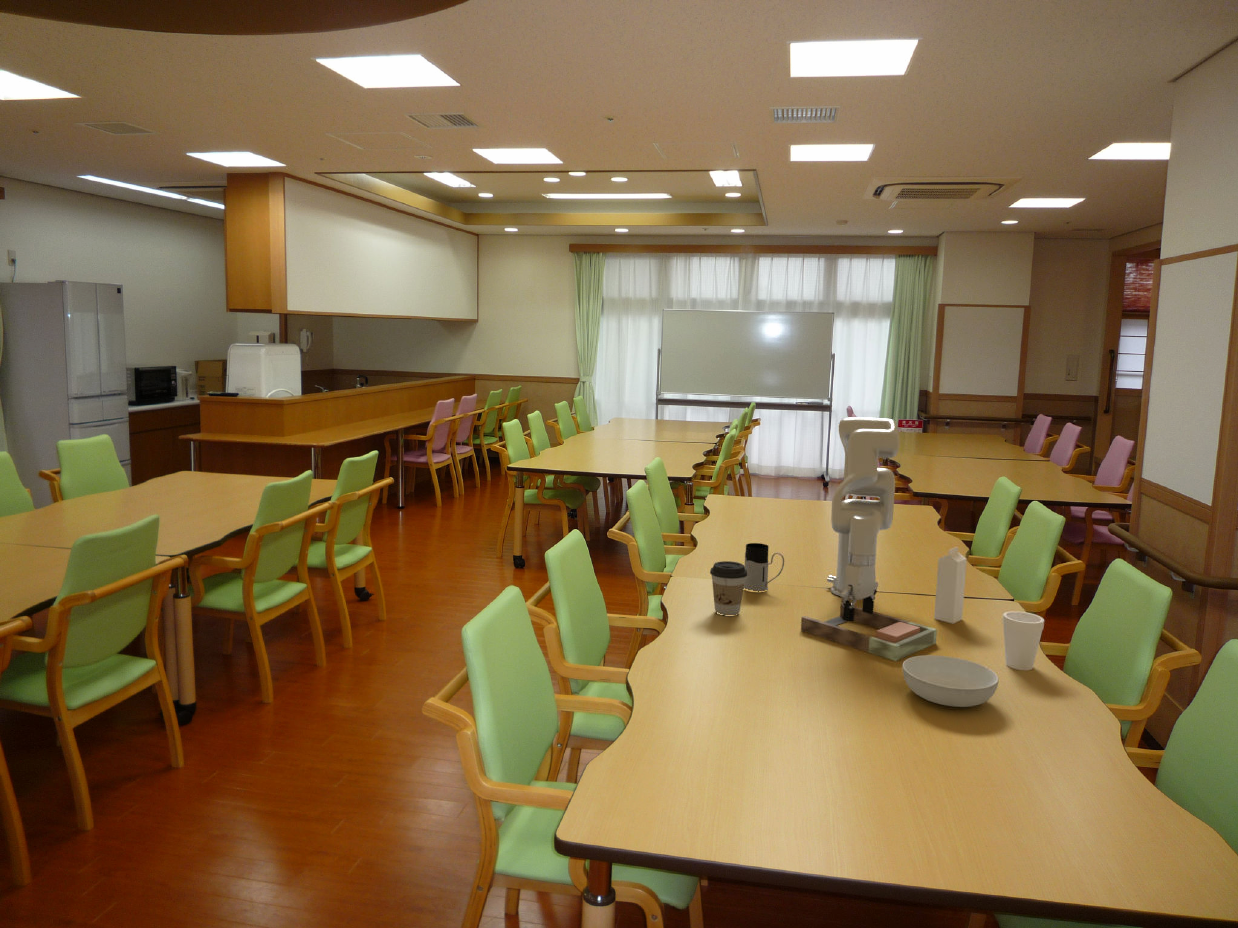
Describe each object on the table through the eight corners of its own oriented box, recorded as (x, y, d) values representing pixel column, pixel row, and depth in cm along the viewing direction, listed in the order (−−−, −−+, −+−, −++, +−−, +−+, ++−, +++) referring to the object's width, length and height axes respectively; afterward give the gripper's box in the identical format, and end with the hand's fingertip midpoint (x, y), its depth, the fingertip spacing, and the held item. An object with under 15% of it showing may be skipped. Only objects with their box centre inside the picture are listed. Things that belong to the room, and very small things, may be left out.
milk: (962, 619, 249) (968, 548, 246) (952, 624, 245) (959, 551, 242) (942, 614, 254) (948, 544, 251) (933, 618, 250) (939, 547, 247)
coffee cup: (704, 615, 249) (705, 567, 247) (714, 605, 260) (715, 558, 257) (741, 620, 245) (742, 571, 243) (749, 609, 255) (751, 562, 253)
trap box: (800, 630, 237) (801, 617, 237) (842, 615, 251) (843, 603, 251) (895, 661, 215) (896, 646, 215) (935, 643, 229) (936, 629, 228)
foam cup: (1039, 662, 216) (1043, 614, 214) (1040, 675, 207) (1045, 625, 206) (999, 656, 220) (1003, 609, 218) (998, 668, 211) (1003, 619, 210)
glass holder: (749, 583, 283) (751, 541, 281) (788, 591, 275) (790, 547, 273) (737, 589, 276) (739, 546, 274) (776, 597, 268) (778, 552, 266)
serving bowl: (1009, 698, 193) (1011, 670, 192) (976, 727, 178) (979, 697, 177) (922, 673, 207) (924, 647, 206) (885, 698, 192) (886, 670, 191)
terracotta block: (875, 648, 225) (876, 630, 224) (899, 638, 233) (900, 621, 232) (895, 654, 220) (896, 636, 220) (918, 644, 228) (919, 627, 228)
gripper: (867, 550, 241) (863, 606, 244) (832, 561, 230) (829, 619, 233) (890, 556, 236) (886, 613, 238) (856, 567, 224) (852, 627, 227)
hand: (858, 616), depth 236 cm, fingers open, 9 cm apart
